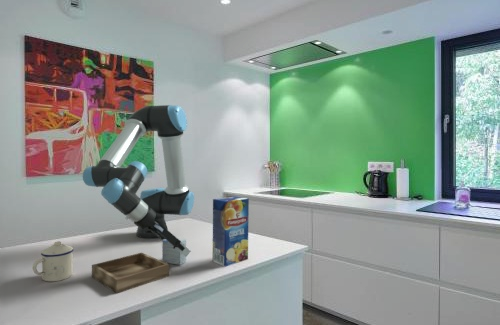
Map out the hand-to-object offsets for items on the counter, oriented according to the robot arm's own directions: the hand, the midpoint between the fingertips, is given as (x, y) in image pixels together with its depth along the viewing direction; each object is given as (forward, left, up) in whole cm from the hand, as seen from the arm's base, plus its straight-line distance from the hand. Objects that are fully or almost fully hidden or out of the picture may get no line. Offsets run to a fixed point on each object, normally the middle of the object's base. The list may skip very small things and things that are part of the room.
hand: (182, 250), depth 122 cm
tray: (0, -21, -4) cm, 22 cm away
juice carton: (+13, +13, -4) cm, 19 cm away
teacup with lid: (-17, -39, -4) cm, 43 cm away
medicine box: (-1, -3, -4) cm, 5 cm away
